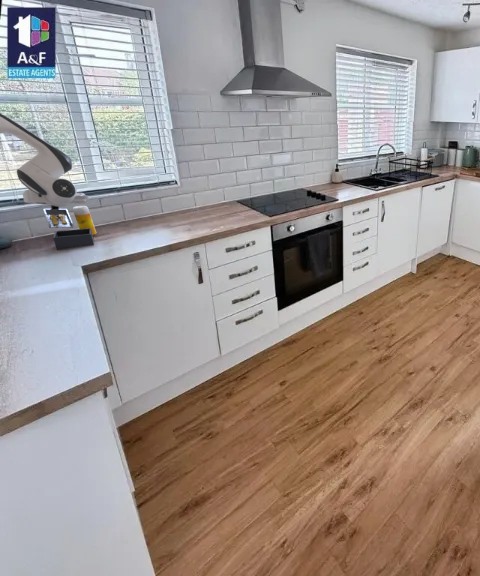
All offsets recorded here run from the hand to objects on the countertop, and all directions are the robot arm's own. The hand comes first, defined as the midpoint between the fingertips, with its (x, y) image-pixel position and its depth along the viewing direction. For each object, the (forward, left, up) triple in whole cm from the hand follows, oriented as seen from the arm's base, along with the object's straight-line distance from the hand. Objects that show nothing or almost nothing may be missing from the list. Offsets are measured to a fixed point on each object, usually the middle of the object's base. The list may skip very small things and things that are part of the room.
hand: (53, 200), depth 162 cm
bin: (+3, -2, -21) cm, 21 cm away
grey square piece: (0, -4, -8) cm, 9 cm away
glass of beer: (+8, +16, -21) cm, 28 cm away
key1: (-1, -6, -8) cm, 10 cm away
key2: (+2, -5, -8) cm, 9 cm away
